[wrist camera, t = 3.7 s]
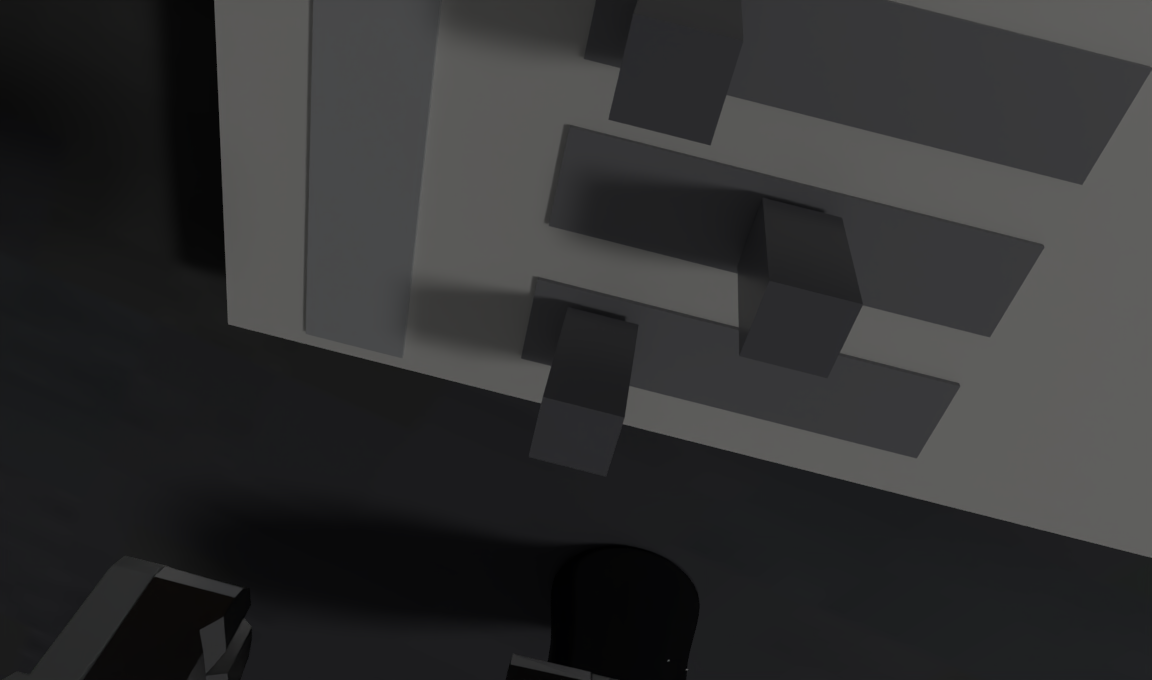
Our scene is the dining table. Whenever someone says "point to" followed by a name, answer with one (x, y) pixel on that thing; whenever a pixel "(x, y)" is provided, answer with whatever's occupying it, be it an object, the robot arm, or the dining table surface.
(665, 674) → the beer glass
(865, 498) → the dining table surface
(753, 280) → the breaker handle
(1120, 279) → the breaker panel
